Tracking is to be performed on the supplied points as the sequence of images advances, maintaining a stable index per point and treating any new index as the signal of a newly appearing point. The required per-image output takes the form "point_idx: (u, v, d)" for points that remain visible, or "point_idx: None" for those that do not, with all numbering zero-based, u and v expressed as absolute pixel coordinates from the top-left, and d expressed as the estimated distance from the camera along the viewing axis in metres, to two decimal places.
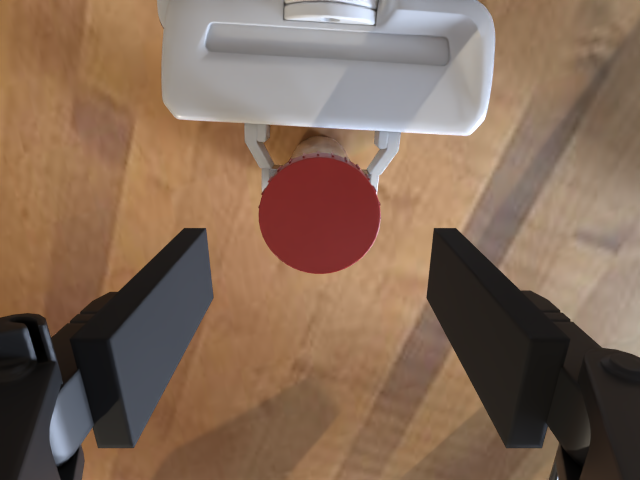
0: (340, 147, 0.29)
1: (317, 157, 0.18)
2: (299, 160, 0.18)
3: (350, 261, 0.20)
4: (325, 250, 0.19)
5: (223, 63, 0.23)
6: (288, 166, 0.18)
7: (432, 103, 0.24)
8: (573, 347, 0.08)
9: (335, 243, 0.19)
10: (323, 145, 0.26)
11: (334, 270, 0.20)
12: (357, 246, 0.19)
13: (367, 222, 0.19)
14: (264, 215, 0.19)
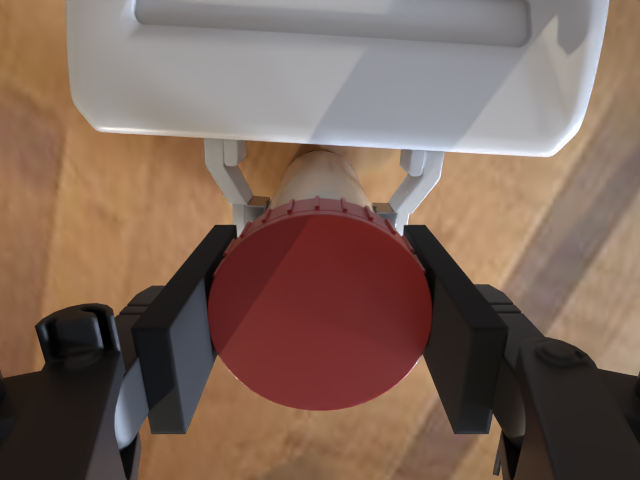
0: (349, 168, 0.21)
1: (315, 214, 0.09)
2: (281, 219, 0.09)
3: (375, 391, 0.11)
4: (330, 374, 0.11)
5: (165, 43, 0.14)
6: (259, 231, 0.09)
7: (498, 107, 0.15)
8: (518, 337, 0.08)
9: (348, 363, 0.11)
10: (325, 169, 0.17)
11: (346, 405, 0.11)
12: (388, 368, 0.11)
13: (408, 329, 0.10)
14: (217, 316, 0.10)
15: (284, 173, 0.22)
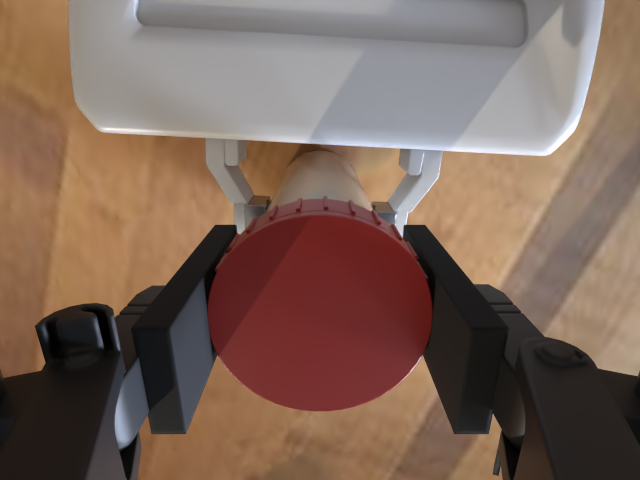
0: (348, 168, 0.21)
1: (241, 380, 0.11)
2: None
3: (352, 227, 0.09)
4: (363, 279, 0.10)
5: (166, 45, 0.14)
6: (283, 405, 0.11)
7: (495, 106, 0.15)
8: (518, 337, 0.08)
9: (340, 274, 0.10)
10: (325, 169, 0.18)
11: (388, 240, 0.09)
12: (317, 238, 0.09)
13: (265, 254, 0.10)
14: (375, 389, 0.11)
15: (284, 173, 0.22)
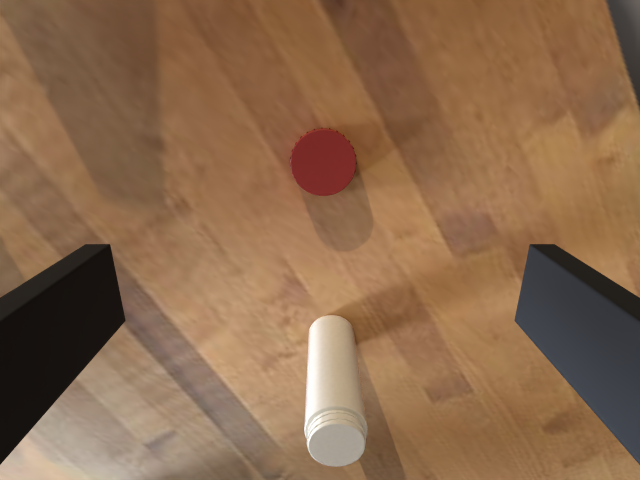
0: None
1: (307, 134, 0.34)
2: (299, 140, 0.35)
3: (349, 177, 0.36)
4: (334, 178, 0.36)
5: None
6: (295, 146, 0.35)
7: None
8: None
9: (337, 172, 0.35)
10: None
11: (344, 186, 0.36)
12: (349, 168, 0.35)
13: (347, 153, 0.35)
14: (296, 175, 0.36)
15: (354, 340, 0.41)
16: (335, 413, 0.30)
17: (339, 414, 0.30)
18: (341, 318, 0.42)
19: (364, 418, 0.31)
